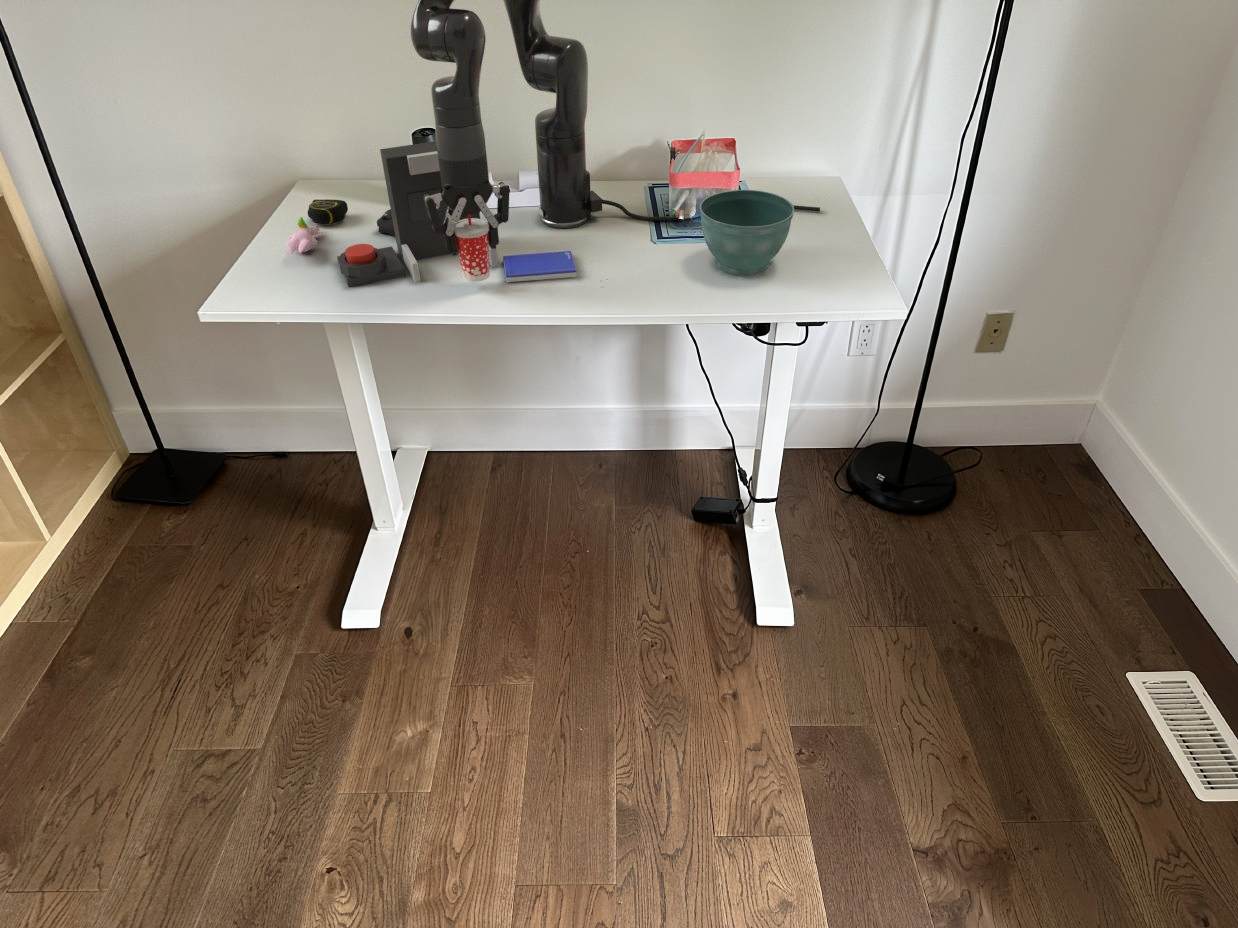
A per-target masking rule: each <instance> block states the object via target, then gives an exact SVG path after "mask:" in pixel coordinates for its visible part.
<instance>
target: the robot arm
mask: <svg viewBox="0 0 1238 928" xmlns="http://www.w3.org/2000/svg"><path fill="white" fill-rule="evenodd" d="M454 2H456V0H418V1H417V4H416V6H415V9H414V11H413V13H412V17H411V21H410V38H411V40H410V41H411V43H412V46H413V49H414V51H415V52H416V54H417V55H418V56H419V57H420V58H422V59H423V60H427V61H430V62H431V61H432V62H441V63H451V64H452V63H453V64H455V65H456V67H455V68H456V69H455V73H454V75H449V76H444V77H441V78H438V79H436V80H435V81H434V82H433V83H432V85H431V88H430V89H431V90H430V93H431V94H430V95H431V102H432V103H431V104H432V109H433V116H434V126H435V131H434V132H435V134H434V135H435V141H436V150H437V153H438V160H439V168H440V175H441V183H442V187H441V190H440V193H438V194H434V195H431V196H430V195H429V194H425V195H424V196H423V199H424V202H425V206H426V209H427V213H428V217H429V220H430V224H431V227H432V228H433V230H434V231H435V233H436V234H440V233H441V234H444V239H445V246H446V249H447V250H448V252H449V253H451V254H450V255H451V256H452V257H456V256H458V253H457V249H456V241H455V235H454V234H453V232H454V230H455V227H456V224H458V222H459V219H460V216H466V215H469V214H479V213H480V214H481V213H482V215H483V216H484V218H485V220H486V221H487V222H488V224H489V231H488V243H489V246H490V247H491V249H496V250H497V246H498V245H499V243H500V237H499V226H500V225H501V224H503V223H508V222H509V217H510V216H509V215H510V214H509V213H510V191H511V190H510V188H509V187H508V185H507V184H505V182H503V181H500V182H498V183H496V184H491V181H490V176H489V167H488V156H487V146H486V145H487V144H486V135H485V130H484V127H483V121H482V113H481V102H480V82H481V81H480V80H481V73H482V66H483V60H484V55H485V50H486V49H485V48H486V42H487V41H486V40H487V39H486V31H485V26H484V24H483V22H482V20H481V18H480V17H479V15H478V14H477V13H475V12H474V11H473V10H469V9H464V8H451V6H452V5H453V3H454ZM540 2H541V0H503V3H504V7H505V11H506V14H507V18H508V20H509V24H510V29H511V33H512V37H513V42H514V46H515V50H516V54H517V55H516V56H517V59H518V62H519V66H520V70H521V73H522V76H523V78H524V80H525V81H526V83H527V85H528V86H529V87H530V88H532V89H534V90H536V91H539V92H546V93H550V94H555V106H554V107H550V108H547V109H543V110H542V111H540V112H539V113H537V114H536V116H535V117H534V129H535V130H534V132H535V146H536V159H537V160H536V161H537V177H538V191H539V192H538V194H539V205H538V207H537V208H538V212H539V216H540V222H541V223H542V224H544V225H546V226H548V227H552V228H557V229H568V228H574V227H578V226H582V225H583V224H585V223H586V222H588V221H589V222H590V221H592V213H596V212H597V213H598V212H602V211H603V205H608V206H611V207H614V208H618V209H619V210H620V211H622V212H623V214H625V216H627V217H629V218H632V219H636V220H640V221H645V222H672V221H674V222H675V221H682V220H681V219H678V218H676V217H671V216H672V215H668V216H667V215H666V216H644V215H639V214H635V213H632V212H630V211H629V210H628V209H627V208H626V207H625V206H623V205H622V204H621V203H618V202H616V201H612V200H607V199H603V198H602V197H600V195H598V194H597V193H596V192H595V191H594V190H591V173H590V172H589V171H588V170H587V156H586V119H587V113H588V91H589V89H588V87H589V84H588V83H589V59H588V53H587V52H586V48H585V46H584V44H583V43H582V42H581V41H580V40H578V39H574V38H568V37H562V36H556V35H549V34H548V32H547V31H546V28H545V26H544V23H543V19H542V15H541V10H540V9H541V8H540ZM493 193H494V196H495V197H496V198H497V207H496V209H497V210H496V213H495V214H493V212H492V210H491V209H490V208H489V206H488V205H487V203H488V202H489V200H490V198H491V196H492V194H493ZM442 200H443V201H444V202H445V203H446V204H447V205H448V208H447V211H446V217H445V220H444V223H443V224H442V223H440V221H439V217H438V213H437V210H436V209H438V208H439V207H440V202H441V201H442ZM792 205H793V204H792ZM793 207H794V211H807V212H820V211H821V207H820V206H805V205H795V204H794V205H793Z"/></svg>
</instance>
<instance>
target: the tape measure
mask: <svg viewBox="0 0 1238 928" xmlns="http://www.w3.org/2000/svg"><path fill="white" fill-rule="evenodd" d="M348 211H349V207H348V203H347V202H346V201H345V200H342V199H313V200H312V202H311V203H310V204H308V209H307V216H308V218H309V219H310V220H311V221H312V222H313V223H314V224H315V225H316V224H317V225H323V226H327V225H329V226H332V225H334V224H338V223H340V222H342V221H344V219H345V218H346V214H347V213H348Z"/></svg>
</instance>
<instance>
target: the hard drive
mask: <svg viewBox="0 0 1238 928" xmlns="http://www.w3.org/2000/svg"><path fill="white" fill-rule="evenodd" d="M502 259H503V260H502V261H503V268H504V274H505V282H506V283H515V282H516V283H517V282H530V281H538V280H541V281H542V280H554V279H564V278H565V279H566V278H577V277H578V273H577V267H576V264H575V260H574V256H573V251H572V250H563V251H550V252H539V253H538V252H537V253H524V254H523V253H522V254H512V255H503V257H502Z"/></svg>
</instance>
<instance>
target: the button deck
mask: <svg viewBox="0 0 1238 928" xmlns="http://www.w3.org/2000/svg"><path fill="white" fill-rule="evenodd" d="M374 249H375V254H376V259H375V260H373V261H371V262H369V263H365V264H350V263H348V262H347V259H346V254H345V251H344V252H342V253H341V254H340V255H337V256H336V260H337V264H338V268H339V271H340V274H341V275H343V278H344V280H345V282H346V285H347V287H348V288H351V287H352V288H353V287H357V286H363V285H367V284H372V283H378V282H384V281H387V280H388V281H389V280H393V279H399V278H403V277H405V278H406V271H405V267H404V266H403V263H402V262H401V259H399V257H398V254H397V253H396V251H395V249H394V247H393V246H386V247H381V248H376V247H374Z"/></svg>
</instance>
